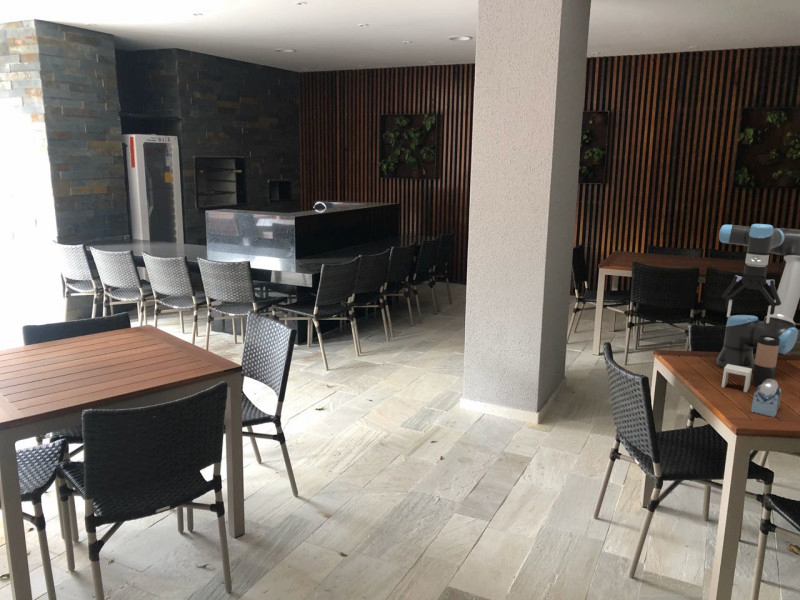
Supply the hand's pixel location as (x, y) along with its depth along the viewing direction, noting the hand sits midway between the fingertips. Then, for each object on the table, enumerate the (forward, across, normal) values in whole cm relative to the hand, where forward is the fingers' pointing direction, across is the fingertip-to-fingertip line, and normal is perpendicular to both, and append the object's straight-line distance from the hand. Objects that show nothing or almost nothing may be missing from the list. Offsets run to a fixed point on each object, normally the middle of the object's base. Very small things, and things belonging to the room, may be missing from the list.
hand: (747, 319), depth 249 cm
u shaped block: (+29, -1, +3) cm, 29 cm away
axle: (+23, +11, -17) cm, 31 cm away
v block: (+29, +12, -17) cm, 35 cm away
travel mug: (+29, +7, +14) cm, 33 cm away
